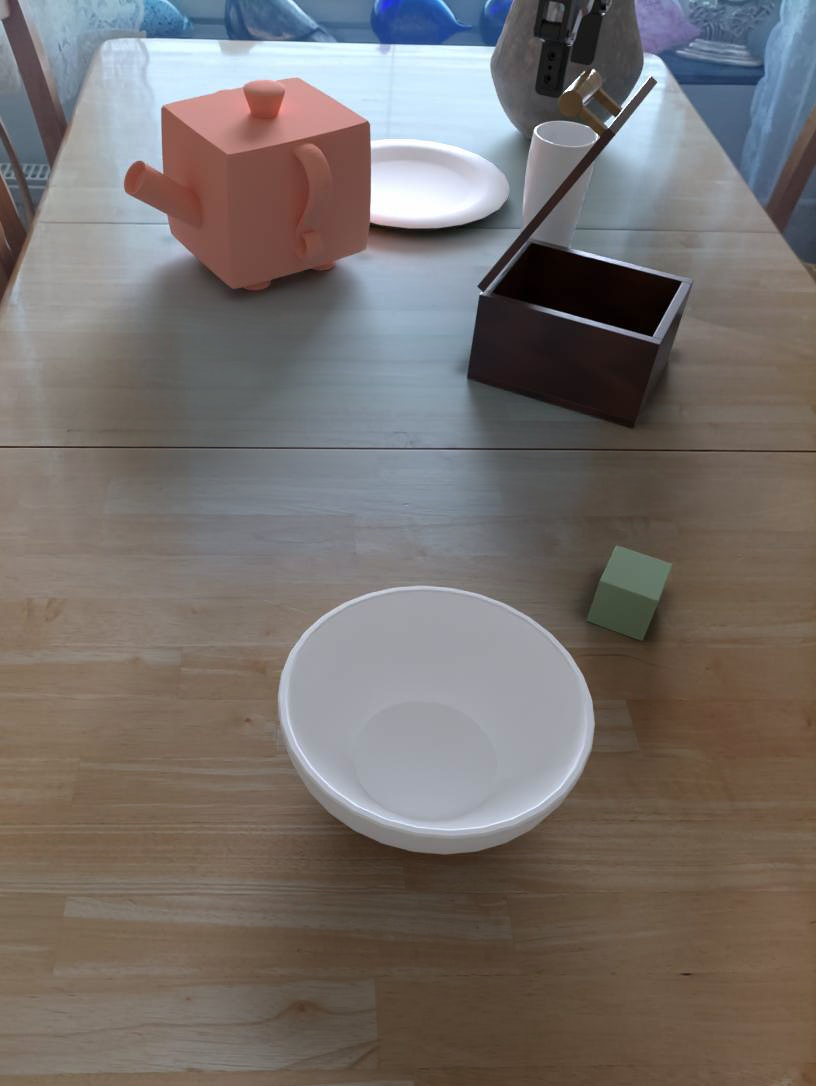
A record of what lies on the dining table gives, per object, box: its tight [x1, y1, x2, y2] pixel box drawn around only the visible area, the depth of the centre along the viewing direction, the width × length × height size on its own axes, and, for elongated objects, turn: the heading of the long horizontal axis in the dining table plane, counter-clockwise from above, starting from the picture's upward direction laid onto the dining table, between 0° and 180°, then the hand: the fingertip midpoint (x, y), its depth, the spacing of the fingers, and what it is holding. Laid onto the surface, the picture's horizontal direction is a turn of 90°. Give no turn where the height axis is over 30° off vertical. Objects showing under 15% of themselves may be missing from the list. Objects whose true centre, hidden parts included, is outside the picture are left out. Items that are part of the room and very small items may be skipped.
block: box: [586, 545, 674, 642], centre depth 73 cm, size 4×4×4 cm
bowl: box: [277, 585, 596, 855], centre depth 63 cm, size 20×20×7 cm
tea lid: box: [477, 69, 658, 292], centre depth 85 cm, size 18×13×5 cm
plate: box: [370, 138, 511, 231], centre depth 121 cm, size 25×25×2 cm
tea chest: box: [466, 238, 695, 429], centre depth 93 cm, size 17×13×9 cm
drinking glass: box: [519, 121, 600, 248], centre depth 104 cm, size 7×7×15 cm
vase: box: [489, 0, 645, 141], centre depth 126 cm, size 20×19×25 cm
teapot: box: [123, 77, 372, 291], centre depth 102 cm, size 25×23×18 cm
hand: (565, 78), depth 79 cm, fingers open, 8 cm apart
